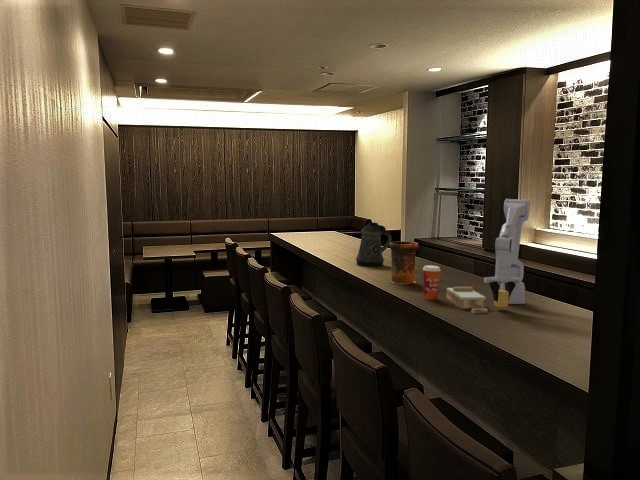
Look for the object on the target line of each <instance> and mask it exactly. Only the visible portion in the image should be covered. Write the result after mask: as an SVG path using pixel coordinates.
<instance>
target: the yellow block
mask: <svg viewBox="0 0 640 480" xmlns="http://www.w3.org/2000/svg"><path fill="white" fill-rule="evenodd" d="M508 297H509V292H508V291H506V290H500V289H499V291H498V301H495V300H494V299H493V305H494V306H496V307H498V308H508V307H509V304H508Z"/></svg>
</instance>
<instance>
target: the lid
mask: <svg viewBox="0 0 640 480" xmlns="http://www.w3.org/2000/svg"><path fill="white" fill-rule="evenodd" d="M446 291H449V292H450V293H452V294H453V295H455V296H456V297H458V298H460V299H461V300H486V299H487V297H486V296H485V295H483V294H481V293H479V292H477V291H475V290H474V287H473V286H453V287H446Z"/></svg>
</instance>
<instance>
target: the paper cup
mask: <svg viewBox="0 0 640 480" xmlns="http://www.w3.org/2000/svg"><path fill="white" fill-rule="evenodd" d="M422 270H423V272H422V273H423V283H422V284H423V299H424V300H428V301H436V300H438V293H439V283H440V276H441V275H440V272H441V271H442V270H441V268H440V266H438V265H424V266H423V268H422Z"/></svg>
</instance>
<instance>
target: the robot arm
mask: <svg viewBox="0 0 640 480" xmlns="http://www.w3.org/2000/svg"><path fill="white" fill-rule="evenodd" d="M530 210H531V201H530V200H529V199H519V198H518V199H514V198H513V199H512V198H505V200H504V203H503V212H504V217H505V220H506V221H505V223H503V224H502V226H501V228H500V232H499V236H498V237H496V238H495V241H494V242H495V245H494V247H495V249H494V250H495V256H496V257H495V271H494V273H495V274H494V276H487V277H485V276H484V277H483V282H484V283H485V284H488V285H489V287H490V289H491V292H492V297H493V301H494V300H495V301H498V291H499V290H506V291H508V292H509V297H508V305H525V304H526V302H525V296H526V295H525V294H526V287H525V283H524V282H522V281H523V279H524V271H525V270H524V263H523V262H522V261H520V259H519V251H520V245H521V244H520V243H521V238H522V237H521V236H522V235H521V234H522V230H523V229H522V228H523V225H524V223H525V222H526V221H528V220H529V217H530Z"/></svg>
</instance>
